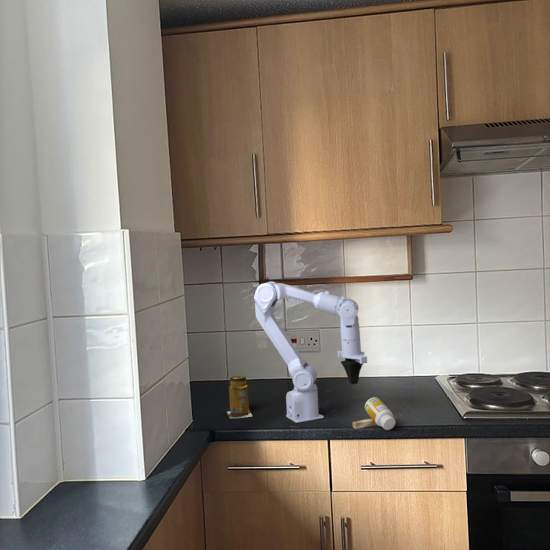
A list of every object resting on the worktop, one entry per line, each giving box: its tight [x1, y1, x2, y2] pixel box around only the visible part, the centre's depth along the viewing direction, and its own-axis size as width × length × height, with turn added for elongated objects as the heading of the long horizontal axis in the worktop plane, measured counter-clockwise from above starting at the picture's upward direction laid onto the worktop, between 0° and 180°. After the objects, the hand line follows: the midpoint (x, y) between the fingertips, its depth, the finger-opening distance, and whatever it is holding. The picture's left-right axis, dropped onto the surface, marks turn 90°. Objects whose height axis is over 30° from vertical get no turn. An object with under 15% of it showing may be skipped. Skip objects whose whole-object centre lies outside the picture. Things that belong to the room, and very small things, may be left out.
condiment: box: [226, 375, 253, 419], centre depth 184 cm, size 7×8×12 cm
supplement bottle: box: [364, 396, 396, 431], centre depth 164 cm, size 5×5×10 cm
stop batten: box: [352, 415, 395, 430], centre depth 166 cm, size 13×2×2 cm, turn 112°
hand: (353, 383), depth 174 cm, fingers closed
